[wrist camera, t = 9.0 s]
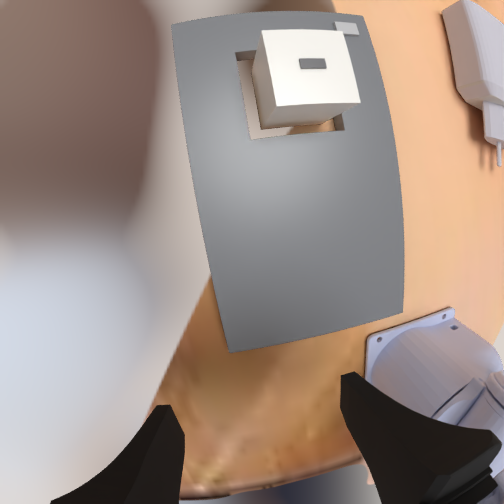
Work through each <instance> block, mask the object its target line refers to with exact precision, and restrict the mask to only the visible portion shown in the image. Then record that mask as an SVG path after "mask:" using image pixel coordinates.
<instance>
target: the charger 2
mask: <svg viewBox="0 0 504 504" xmlns="http://www.w3.org/2000/svg"><path fill="white" fill-rule="evenodd" d="M442 15H443V19H444V23H445V27H446V31H447V35H448V40H449V45H450V50H451V55H452V61H453V67H454V73H455V81H456V89H457V90H458V92H459V93H460V94H461V96H462V97H463V99H464V100H465V101H466V102H467V103H469V104H470V105H472V106H474V107H476V108H478V109H480V110H482V111H483V122H484V138H485V139H486V141H487V142H489V143H491V144H493V145H495V146H497V166H501V148H502V149H504V24H503V23H501V22H500V21H499V20H498V19H496V18H495V17H494V16H493V15H491V14H490V13H489V12H487V11H486V10H485V9H483V8H482V7H481V6H479V5H478V4H476V3H474V2H472V1H470V0H459V1H458V2H456V3H454V4H453V5H451V6H449V7H448V8H446V9H444V10H443V11H442Z"/></svg>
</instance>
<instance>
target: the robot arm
mask: <svg viewBox="0 0 504 504" xmlns="http://www.w3.org/2000/svg"><path fill="white" fill-rule="evenodd" d="M454 315H455V309H454V308H452V307H450V308H447V309H445V310H442V311H439V312H437V313H434V314H431V315H429V316H426V317H423V318H420V319H418V320H415V321H412V322H409V323H406V324H403V325H400V326H397V327H394V328H391V329H388V330H384V331H381V332H378V333H375V334H372V335H370V336H369V337H368V339H367V350H366V368H365V379H364V378H362V377H361V376H360V375H359V374H357V373H356V372H351V373H348V374H344V375H341V398H340V408H341V411H342V414H343V417H344V420H345V422H346V425H347V427H348V429H349V431H350V433H351V435H352V437H353V439H354V440H355V442H356V444H357V446H358V448H359V450H360V452H361V453H362V455H363V457H364V459H365V461H366V463H367V465H368V467H369V469H370V472H371V474H372V477H373V480H374V482H375V485H376V488H377V490H378V494H379V497H380V499H381V502H382V504H504V370H503V365H502V361H501V359H500V356H499V354H498V353H497V351H496V349H495V348H494V347H493V346H492V345H491V344H490V343H489V342H487V341H486V340H485V339H483V338H482V337H480V336H479V335H478V334H476V333H475V332H474V331H472V330H471V329H469V328H468V327H467V326H465V325H464V324H462V323H461V322H459V321H458V320H457V319H455V318H454ZM442 316H443V317H442ZM379 337H380V338H379ZM378 338H379V339H378ZM377 339H378V340H377ZM184 455H185V434H184V432H183V430H182V428H181V426H180V424H179V422H178V420H177V418H176V416H175V414H174V412H173V410H172V407H171V405H157V406H156V407H155V409H154V410H153V411H152V413H151V414H150V416H149V417H148V418H147V420H146V421H145V423H144V424H143V425H142V427H141V428H140V430H139V431H138V432H137V434H136V435H135V436H134V438H133V439H132V440H131V442H130V443H129V444H128V445H127V446H126V447H125V448H124V450H123V451H122V452H121V453H120V454H119V455H118V456H117V457H116V458H115V459H114V461H112V462H111V463H110V464H109V465H108V466H107V467H106V468H105V469H104V470H102V471H101V472H100V473H99V474H97V475H96V476H95V477H93V478H92V479H91V480H89V481H88V482H87V483H85V484H83V485H82V486H80V487H79V488H77V489H75V490H74V491H71V492H70V493H68V494H65V495H63V496H61V497H59V498H57V499H54V500H52V501H51V503H50V504H179V492H180V485H181V477H182V470H183V463H184Z"/></svg>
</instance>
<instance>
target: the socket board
mask: <svg viewBox="0 0 504 504" xmlns="http://www.w3.org/2000/svg"><path fill="white" fill-rule="evenodd" d="M171 28H172V37H173V47H174V55H175V63H176V72H177V80H178V87H179V95H180V103H181V110H182V116H183V123H184V129H185V136H186V143H187V148H188V155H189V161H190V167H191V173H192V178H193V184H194V190H195V195H196V201H197V206H198V212H199V217H200V222H201V227H202V232H203V237H204V242H205V247H206V252H207V257H208V262H209V267H210V271H211V276H212V281H213V285H214V290H215V294H216V299H217V303H218V308H219V312H220V316H221V320H222V325H223V329H224V333H225V337H226V341H227V346H228V350H229V353H234V352H240V351H246V350H252V349H257V348H263V347H268V346H273V345H278V344H283V343H288V342H293V341H297V340H302V339H306V338H311V337H315V336H319V335H324V334H328V333H332V332H336V331H340V330H344V329H347V328H351V327H355V326H359V325H362V324H366V323H369V322H373V321H376V320H380V319H383V318H387V317H390V316H393V315H396V314H400V313H403V298H404V225H403V208H402V195H401V184H400V175H399V167H398V159H397V152H396V145H395V139H394V133H393V127H392V121H391V116H390V111H389V106H388V102H387V97H386V93H385V88H384V84H383V80H382V76H381V72H380V69H379V65H378V61H377V58H376V55H375V51H374V48H373V45H372V41H371V38H370V35H369V32H368V29H367V26H366V24H365V21H364V18H363V16H359V15H351V14H342V13H330V12H310V11H270V12H252V13H240V14H231V15H224V16H215V17H209V18H202V19H197V20H191V21H186V22H181V23H177V24H172V25H171ZM287 29H308V30H333V31H343V35H344V38H345V41H346V45H347V48H348V52H349V56H350V59H351V63H352V67H353V71H354V75H355V79H356V84H357V88H358V93H359V97H360V102H361V103H359V104H358V105H356V106H354V107H352V108H350V109H348V110H346V111H344V112H343V113H341V114H339V115H337V116H335V117H333V119H334V124H335V130H336V131H328V132H315V133H304V134H294V135H284V136H276V137H268V138H260V139H254V140H251V139H250V134H249V128H248V122H247V116H246V111H245V105H244V99H243V94H242V88H241V83H240V77H239V71H238V66H237V61H241V60H250V59H255V55H256V51H257V47H258V43H259V39H260V35H261V31H262V30H287Z"/></svg>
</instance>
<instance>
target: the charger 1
mask: <svg viewBox="0 0 504 504" xmlns="http://www.w3.org/2000/svg"><path fill="white" fill-rule="evenodd" d="M251 75H252V80H253V86H254V92H255V97H256V103H257V109H258V114H259V121H260V127H261V129H262V130H263V129H271V128H280V127H290V126H301V125H315V124H323V123H324V122H326V121H328V120H330V119H332V118H333V117H335V116H337V115H339V114H341V113H343V112H344V111H346V110H348V109H350V108H352V107H354V106H356V105H358V104H359V103H361V102H360V97H359V93H358V88H357V84H356V79H355V75H354V71H353V67H352V63H351V59H350V56H349V52H348V48H347V45H346V41H345V38H344V35H343V31H333V30H308V29H287V30H262V31H261V35H260V39H259V43H258V47H257V51H256V55H255V60H254V63H253V67H252V72H251Z"/></svg>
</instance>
